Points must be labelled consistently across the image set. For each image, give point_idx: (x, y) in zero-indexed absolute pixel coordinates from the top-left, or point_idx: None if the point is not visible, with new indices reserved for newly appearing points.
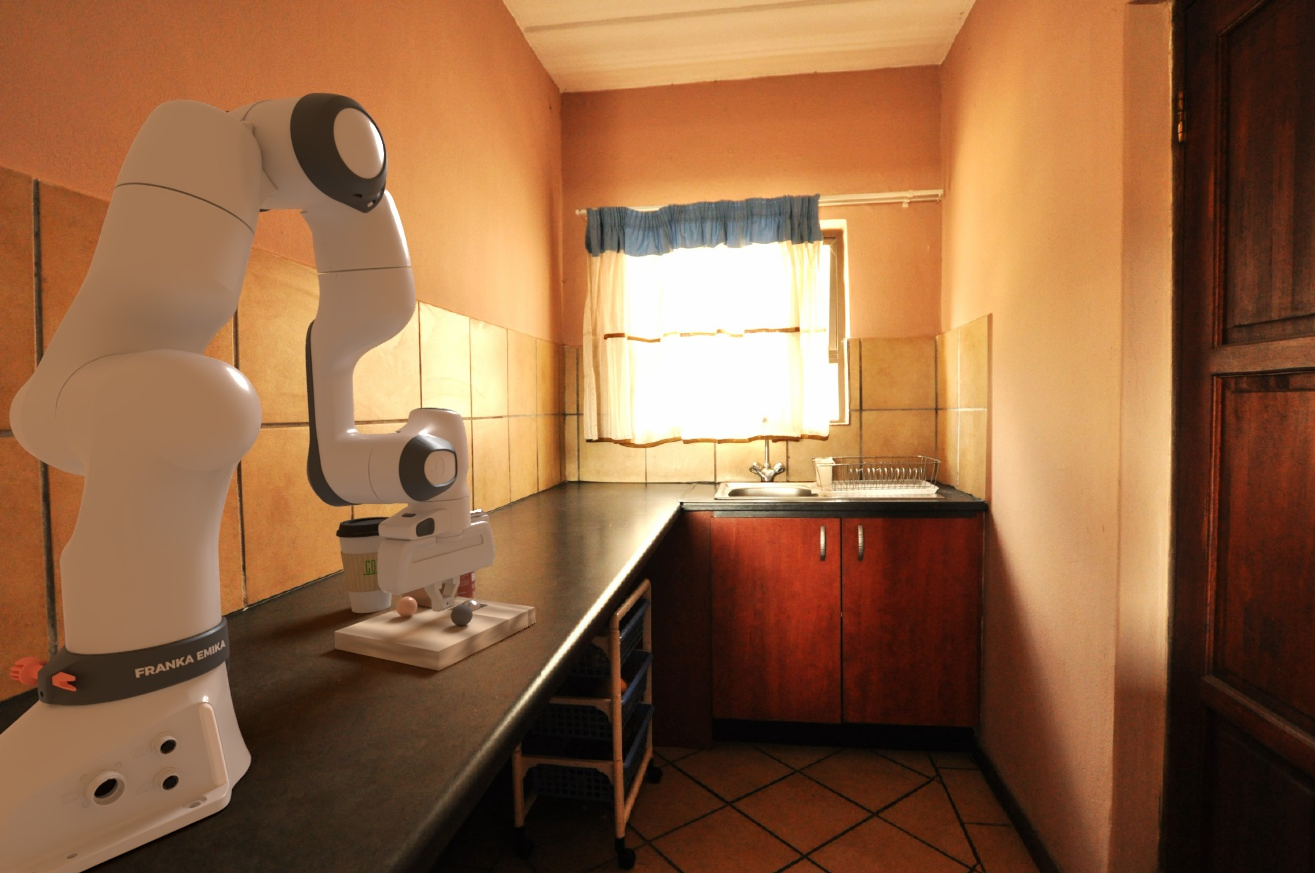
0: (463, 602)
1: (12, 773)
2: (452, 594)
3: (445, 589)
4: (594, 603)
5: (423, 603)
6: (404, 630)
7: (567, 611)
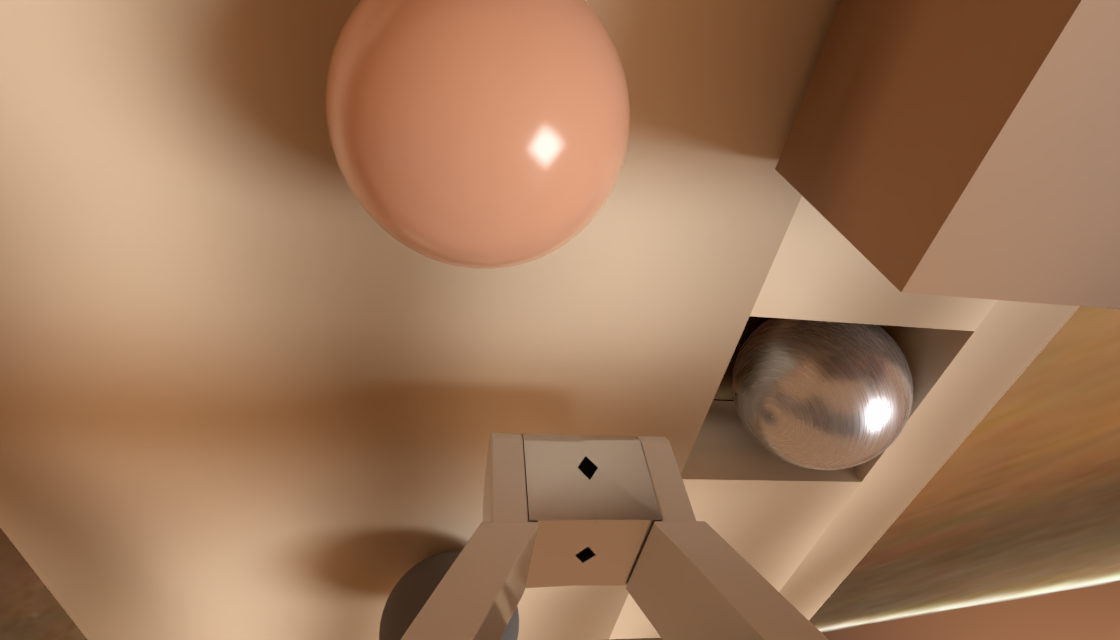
0: (843, 409)
1: None
2: (640, 600)
3: (693, 580)
4: (1006, 594)
5: (830, 74)
6: (164, 353)
7: (916, 573)
